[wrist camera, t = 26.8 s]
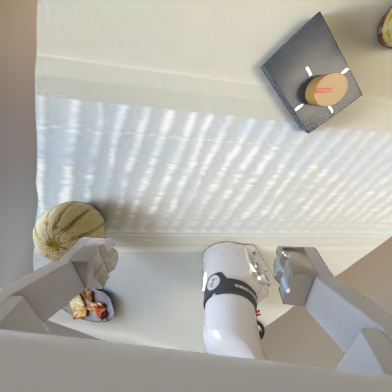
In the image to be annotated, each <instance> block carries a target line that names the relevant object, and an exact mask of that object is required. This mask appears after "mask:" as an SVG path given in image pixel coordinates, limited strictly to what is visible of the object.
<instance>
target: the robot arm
mask: <svg viewBox="0 0 392 392" xmlns="http://www.w3.org/2000/svg"><path fill="white" fill-rule="evenodd" d="M114 245H115V244H114V242H113V240H112V239H108V238H90V237H83V238H80V239H79V240H78V241H77V242H76V243H75V244H74V245H73V246H72V247H71V248H70V250H69V251H68V252H67V253H66V254H65V255H64V256H63V257H62V258H61V259H60V260H59V261H57V260H56V261H54V262H52V263H50V264H48V265H46V266H44V267H42V268H40V269H38V270H36V271H34V272H32V273H30V274H28V275H26V276H24V277H22V278H20V279H19V280H17V281H15V282H13V283H11V284H9V285H7V286H5V287H3V288H1V289H0V392H392V315H390V314H389V313H388V312H386V311H385V310H383V309H382V308H380V307H379V306H377V305H376V304H375V303H373V302H372V301H370V300H369V299H367V298H366V297H365V296H363V295H362V294H360V293H359V292H357V291H356V290H354V289H353V288H352V287H350V286H349V285H347V284H346V283H345V282H343V281H342V280H340V279H339V278H334V277H333V275H332V273H331V272H330V270H329V269H328V267H327V265H326V264H325V262H324V261H323V259H322V257H321V256H320V254H319V253H318V251H317V250H316V248H314V247H290V246H278V247H277V251H276V254H277V258H276V259H275V260H274V274H275V278H276V281H277V282H278V283H279V284H280V286H279V292H280V295H281V299H282V302H283V304H290V305H300V306H305V308H306V309H307V311H308V312H309V313H310V314H311V315H312V316H313V317H314V318H315V320H316V321H317V322H318V323H319V324H320V325H321V326H322V327H323V328H324V330H325V331H326V332H327V333H328V334H329V335H330V336H331V337H332V338H333V340H334V341H335V342H336V343H337V344H338V345H339V346H340V347H341V348H342V350H343V351H344V352H345V355H344V356H343V358H342V359H341V361H340V362H339V364H338V365H337V368H338V369H334V368H325V367H317V366H308V365H300V364H291V363H283V362H274V361H268V360H267V358H266V355H265V353H264V350H263V347H262V343H261V339H262V338H263V336H264V327H263V325H262V324H261V323H260V322H258V321H257V319H256V316H259V315H261V314H257V313H259V312H260V310H258V311H256V309H257V303H259V302H261V301H262V300H264V299H265V298H266V297H267V296H268V293H269V291H268V287H269V286H270V285H271V284H272V283H273V282H274V276H273V274H272V273H271V271H270V269H269V268H268V266H267V264H266V263H265V261H264V259H263V258H262V256H261V254H260V253H259V251H258V249H257V248H256V246H255V245H241V244H237V243H233V242H222V243H218V244H215V245H213V246H211V247H209V248H208V249H207V250H206V252H205V253H204V256H203V263H204V267H203V270H202V274H203V276H204V284H203V290H204V298H203V302H204V309H205V316H204V330H203V344H204V348H205V350H206V353H200V352H191V351H183V350H175V349H166V348H158V347H149V346H141V345H133V344H124V343H116V342H107V341H99V340H90V339H81V338H73V337H65V336H57V335H48V333H49V329H48V328H47V326H46V325H45V324H44V322H45V321H46V320H48V319H49V318H50V317H51V316H53V315H54V314H55V313H56V312H58V311H59V310H60V309H61V308H63V307H64V306H65V305H66V304H68V303H69V302H70V301H71V300H73V299H74V298H75V297H76V296H78V295H79V294H80V293H81V292H82V291H84V290H85V288H93V289H102V288H103V286H104V285H105V283H106V281H107V280H108V278H109V273H110V272H111V271H112V270H114V268H115V267H116V265H117V261H118V253H117V251H116V250H115V249H114V248H113V247H114ZM258 325H259V326H260V327H261V328H262V333H261V330H260V331H259V329H258Z"/></svg>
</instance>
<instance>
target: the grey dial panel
mask: <svg viewBox="0 0 392 392" xmlns="http://www.w3.org/2000/svg"><path fill="white" fill-rule="evenodd" d="M261 69H262V71H263V72H264V74H265V75H266V77H267V78H268V80H269V81H270V83H271V84H272V86H273V87H274V89H275V90H276V92H277V93H278V95H279V96H280V98H281V99H282V101H283V103H284V104H285V106H286V107H287V109H288V110H289V112H290V113H291V115H292V116H293V118H294V119H295V121H296V122H297V124H298V125H299V127H300V128H301V130H302V131H304V132H306V133H310V132H311V131H312V130H314V129H315V128H317V127H318V126H319V125H321V124H322V123H324V122H325V121H326V120H328V119H329V118H331V117H332V116H334V115H335V114H336V113H338V112H339V111H341V110H342V109H343V108H345V107H346V106H348V105H349V104H350V103H352V102H353V101H355V100H356V99H357V98H359V97H360V96H362V93H361V91H360V89H359V87H358V85H357V83H356V81H355V79H354V77H353V75H352V73H351V71H350V69H349V67H348V66H347V64H346V62H345V60H344V58H343V56H342V54H341V52H340V50H339V48H338V46H337V44H336V42H335V40H334V38H333V36H332V34H331V32H330V30H329V28H328V26H327V24H326V22H325V20H324V18H323V16H322V14H321V12H318V13H317V14H316V15H315V16H314V17H312V18H311V19H310V20H309V21H308V22H307V23H306V24H305V25H304V26H303V27H302V28H301V29H300V30H299V31H298V32H297V33H296V34H294V35H293V36H292V37H291V38H290V39H289V40H288V41H287V42H286V43H285V44H284V45H283V46H282V47H281V48H280V49H279V50H278V51H277V52H276V53H275V54H274V55H273V56H272V57H270V58H269V59H268V60H267V61H266V62H265V63H264V64H263V65H262V66H261ZM333 72H339V73H342V74H344V75H345V77H346V78H347V81H348V88H347V91H346V93H345V95H344V97H343V98H342V99H341V100H340V101H339V102H338V103H336V104H334V105H332V106H329V107H322V106H314V105H311V104H309V103H308V102H307V100H306V97H305V92H306V88H307V86H308V84H309V83H310V82H311V81H312V80H313V79H314V78H315V77H317V76H319V75H323V74H328V73H333Z"/></svg>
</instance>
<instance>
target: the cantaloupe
mask: <svg viewBox="0 0 392 392" xmlns="http://www.w3.org/2000/svg"><path fill="white" fill-rule="evenodd" d="M105 231H106V225H105V221H104V218H103V217H102V215H101V213H100V212H99V211H98V210H97V209H95V208H93V207H92V206H90V205H89V204H87V203H83V202H76V201H71V202H65V203H62V204H59V205H57V206H54V207H52V208H50V209H48V210H47V211H45V212H44V213H43V214H42V215H41V217H40V218H39V220H38V221H37V224H36V226H35V228H34V230H33V241H34V244H35V247H36V249H37V250H38V252H39V253H40V254H41V255H43V256H44V257H46V258H48V259H50V260H52V261H56V260H57V261H59V260H60V259H61V258H62V257H63V256H64V255H65V254H66V253H67V252H68V251H69V250H70V248H71V247H72V246H73V245H74V244H75V243H76V242H77V241H78V240H79V239H80V238H83V237H90V238H104V235H105Z"/></svg>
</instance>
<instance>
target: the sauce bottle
mask: <svg viewBox="0 0 392 392" xmlns="http://www.w3.org/2000/svg"><path fill="white" fill-rule="evenodd" d="M378 38H379V42H380V43H381V44H382V45H383V46H385V47H389V48H392V7H391V8H390V9H389V10H388V11H387V13H386V14H385V15H384V17H383V18H382V20H381V22H380V25H379V30H378Z"/></svg>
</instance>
